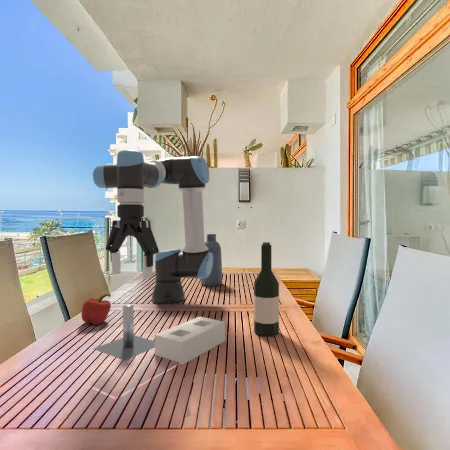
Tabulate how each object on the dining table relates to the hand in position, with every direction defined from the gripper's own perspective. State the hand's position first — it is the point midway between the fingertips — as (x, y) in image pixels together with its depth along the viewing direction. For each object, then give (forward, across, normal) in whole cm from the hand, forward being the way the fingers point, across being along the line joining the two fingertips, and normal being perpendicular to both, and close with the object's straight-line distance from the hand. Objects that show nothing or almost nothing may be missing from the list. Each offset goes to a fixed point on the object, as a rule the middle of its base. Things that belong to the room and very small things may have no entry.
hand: (131, 276), depth 99 cm
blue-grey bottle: (+21, -33, +87) cm, 95 cm away
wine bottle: (+21, +28, +33) cm, 48 cm away
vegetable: (+21, -28, +9) cm, 37 cm away
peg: (+21, 0, -1) cm, 21 cm away
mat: (+21, 0, -1) cm, 21 cm away
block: (+21, +16, +9) cm, 28 cm away
